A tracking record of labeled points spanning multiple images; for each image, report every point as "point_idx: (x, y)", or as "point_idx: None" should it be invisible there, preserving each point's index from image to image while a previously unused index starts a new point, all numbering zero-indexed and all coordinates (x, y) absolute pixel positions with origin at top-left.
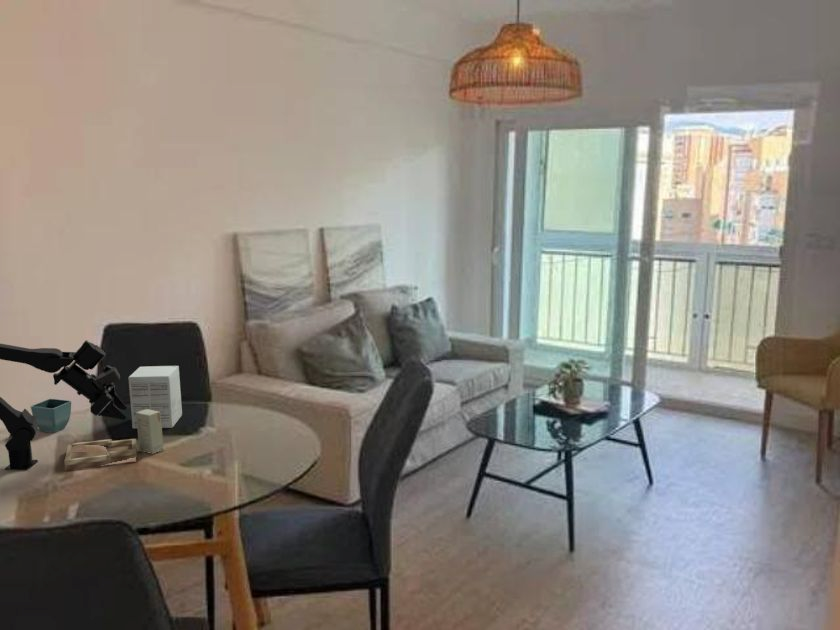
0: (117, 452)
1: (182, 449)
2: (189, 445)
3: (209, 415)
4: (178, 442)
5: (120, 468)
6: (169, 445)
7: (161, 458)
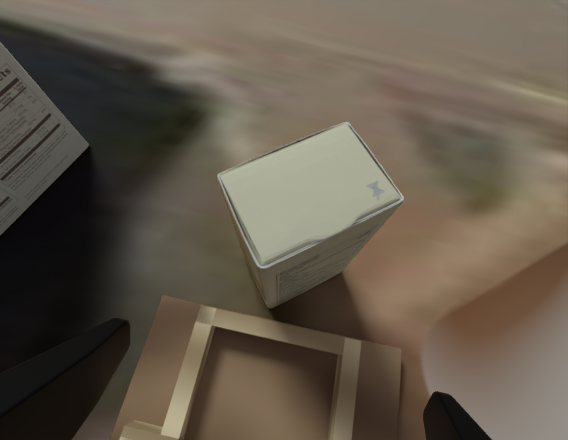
0: (351, 436)
1: None
2: None
3: (65, 32)
4: None
5: None
6: None
7: (392, 253)
